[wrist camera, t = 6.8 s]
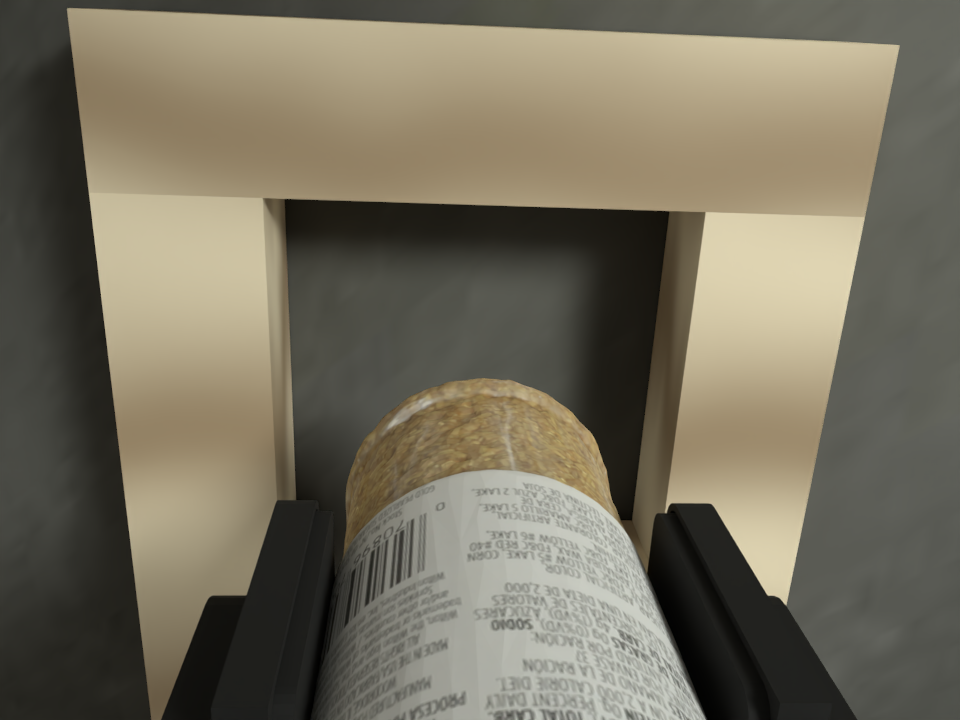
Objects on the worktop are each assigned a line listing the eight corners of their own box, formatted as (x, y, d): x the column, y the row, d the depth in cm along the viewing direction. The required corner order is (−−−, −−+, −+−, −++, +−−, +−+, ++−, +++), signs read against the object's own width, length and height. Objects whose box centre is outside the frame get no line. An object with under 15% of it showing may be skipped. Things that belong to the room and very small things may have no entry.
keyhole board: (115, 9, 17) (66, 8, 14) (839, 41, 17) (899, 45, 15) (195, 805, 24) (171, 887, 22) (703, 798, 25) (731, 877, 22)
